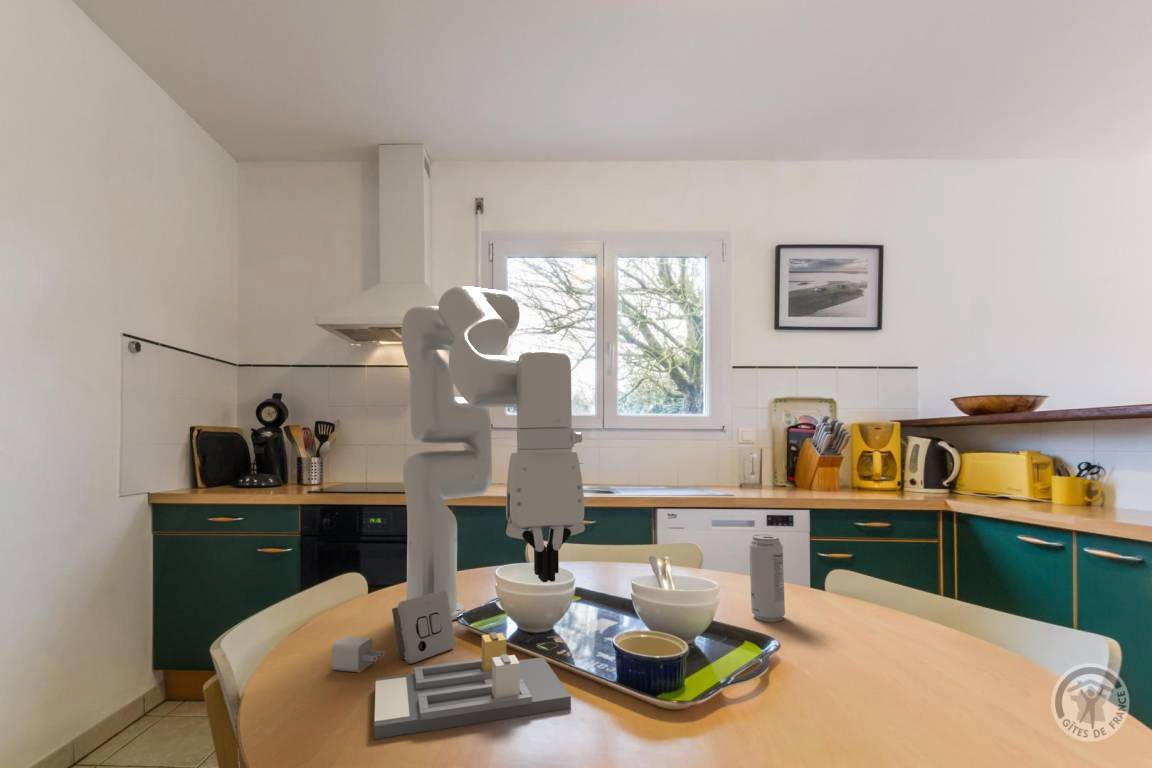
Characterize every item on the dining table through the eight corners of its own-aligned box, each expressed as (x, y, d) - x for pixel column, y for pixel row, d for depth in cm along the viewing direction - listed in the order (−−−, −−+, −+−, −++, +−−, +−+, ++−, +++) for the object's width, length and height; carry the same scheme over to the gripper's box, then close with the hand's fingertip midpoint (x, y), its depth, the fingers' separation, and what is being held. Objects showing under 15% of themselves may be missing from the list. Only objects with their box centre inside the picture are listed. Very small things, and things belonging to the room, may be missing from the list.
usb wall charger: (347, 661, 94) (347, 635, 94) (387, 664, 93) (387, 638, 93) (331, 671, 90) (332, 644, 90) (373, 675, 89) (373, 647, 89)
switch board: (375, 689, 84) (375, 672, 84) (542, 666, 91) (542, 651, 91) (374, 740, 70) (374, 720, 70) (571, 709, 77) (571, 690, 77)
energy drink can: (757, 610, 117) (755, 532, 119) (789, 616, 114) (786, 535, 115) (747, 619, 113) (744, 537, 114) (779, 624, 109) (776, 540, 110)
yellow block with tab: (481, 667, 87) (481, 633, 87) (502, 664, 88) (502, 630, 88) (485, 675, 84) (485, 639, 85) (506, 672, 85) (506, 637, 85)
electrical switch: (409, 666, 92) (406, 603, 93) (389, 662, 95) (387, 601, 96) (457, 648, 99) (454, 590, 100) (437, 645, 102) (434, 588, 104)
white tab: (492, 693, 78) (492, 655, 79) (514, 689, 79) (514, 652, 80) (496, 703, 76) (496, 663, 76) (519, 699, 77) (519, 660, 77)
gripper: (588, 440, 88) (590, 569, 86) (485, 443, 84) (486, 578, 82) (605, 441, 81) (608, 581, 79) (494, 443, 76) (495, 591, 75)
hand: (546, 579), depth 81 cm, fingers closed
